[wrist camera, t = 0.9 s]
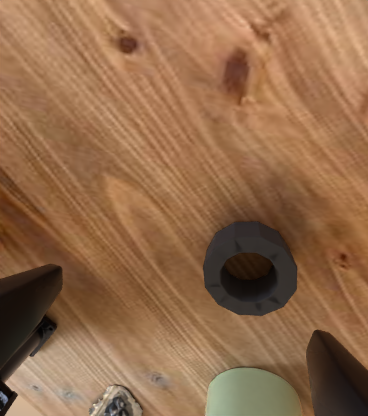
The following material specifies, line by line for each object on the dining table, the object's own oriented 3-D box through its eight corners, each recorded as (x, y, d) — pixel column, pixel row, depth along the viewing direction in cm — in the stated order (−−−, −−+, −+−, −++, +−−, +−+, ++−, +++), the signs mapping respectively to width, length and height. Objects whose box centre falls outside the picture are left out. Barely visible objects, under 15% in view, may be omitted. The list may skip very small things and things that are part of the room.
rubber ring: (263, 304, 23) (266, 329, 21) (195, 270, 24) (189, 290, 21) (306, 244, 21) (316, 264, 18) (229, 207, 21) (228, 221, 18)
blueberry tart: (89, 418, 34) (81, 435, 32) (92, 375, 31) (83, 391, 29) (138, 436, 33) (132, 454, 31) (146, 393, 30) (140, 410, 28)
